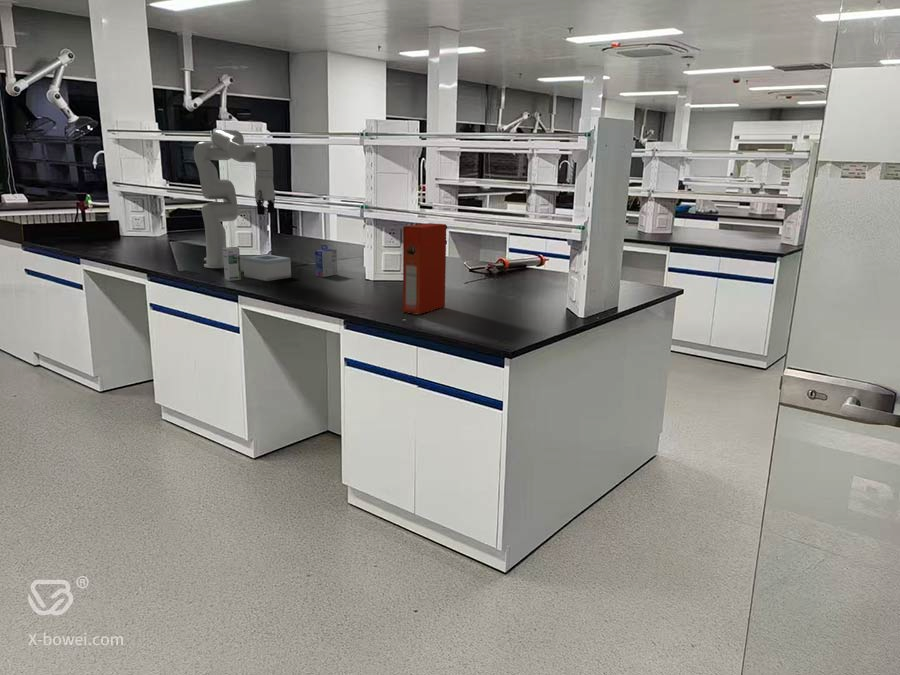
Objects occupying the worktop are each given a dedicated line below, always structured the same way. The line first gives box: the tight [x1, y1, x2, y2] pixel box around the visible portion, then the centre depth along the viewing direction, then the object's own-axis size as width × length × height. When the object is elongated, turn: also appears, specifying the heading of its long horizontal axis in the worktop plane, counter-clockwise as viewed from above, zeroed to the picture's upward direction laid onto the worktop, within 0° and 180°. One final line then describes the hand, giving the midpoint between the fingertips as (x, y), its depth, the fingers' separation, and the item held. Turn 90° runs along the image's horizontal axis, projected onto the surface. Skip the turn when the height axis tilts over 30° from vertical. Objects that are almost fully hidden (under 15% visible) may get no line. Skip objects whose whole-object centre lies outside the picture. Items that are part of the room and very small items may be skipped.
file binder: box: [402, 222, 447, 315], centre depth 255 cm, size 8×17×32 cm, turn 149°
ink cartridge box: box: [314, 244, 338, 278], centre depth 324 cm, size 10×6×14 cm, turn 145°
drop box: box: [242, 254, 292, 282], centre depth 316 cm, size 16×14×9 cm
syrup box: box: [223, 246, 242, 282], centre depth 307 cm, size 6×6×14 cm
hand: (266, 213), depth 307 cm, fingers open, 9 cm apart
